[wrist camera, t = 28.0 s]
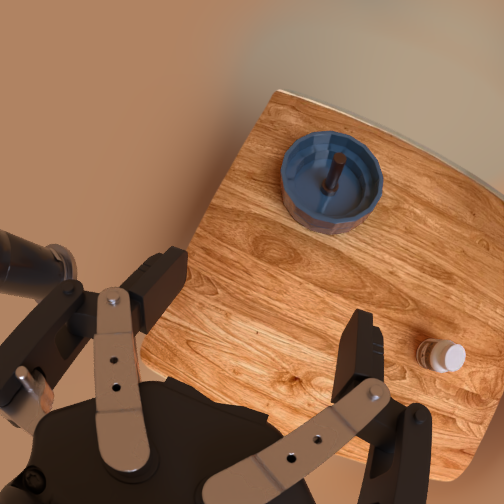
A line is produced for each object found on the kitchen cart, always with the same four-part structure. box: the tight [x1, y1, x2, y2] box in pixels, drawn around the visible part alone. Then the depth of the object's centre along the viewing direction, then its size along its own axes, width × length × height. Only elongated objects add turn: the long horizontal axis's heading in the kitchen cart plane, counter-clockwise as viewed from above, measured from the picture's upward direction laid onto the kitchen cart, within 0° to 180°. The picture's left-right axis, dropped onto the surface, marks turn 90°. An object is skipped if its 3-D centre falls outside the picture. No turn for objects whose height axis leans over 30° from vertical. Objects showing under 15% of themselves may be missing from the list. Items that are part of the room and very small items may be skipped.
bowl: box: [280, 131, 383, 235], centre depth 40 cm, size 14×14×6 cm
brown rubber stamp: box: [321, 152, 347, 197], centre depth 37 cm, size 2×2×9 cm
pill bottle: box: [416, 339, 465, 373], centre depth 32 cm, size 4×4×8 cm
